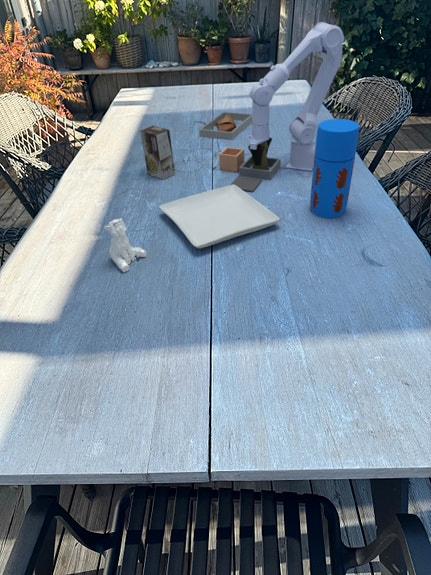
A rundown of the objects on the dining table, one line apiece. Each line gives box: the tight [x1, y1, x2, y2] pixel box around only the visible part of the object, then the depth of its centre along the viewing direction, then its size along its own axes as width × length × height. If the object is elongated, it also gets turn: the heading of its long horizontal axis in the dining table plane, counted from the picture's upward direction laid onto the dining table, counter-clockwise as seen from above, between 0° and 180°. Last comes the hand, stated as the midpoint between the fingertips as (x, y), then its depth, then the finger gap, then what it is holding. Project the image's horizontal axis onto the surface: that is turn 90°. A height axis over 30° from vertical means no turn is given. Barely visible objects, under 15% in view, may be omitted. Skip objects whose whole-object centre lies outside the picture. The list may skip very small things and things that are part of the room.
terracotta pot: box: [218, 146, 245, 173], centre depth 150 cm, size 7×7×6 cm
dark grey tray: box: [198, 111, 252, 141], centre depth 185 cm, size 16×26×3 cm, turn 155°
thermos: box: [309, 118, 360, 219], centre depth 116 cm, size 11×11×25 cm
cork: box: [251, 141, 269, 170], centre depth 145 cm, size 6×6×11 cm
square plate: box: [158, 184, 281, 249], centre depth 122 cm, size 27×27×4 cm
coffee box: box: [139, 125, 176, 180], centre depth 147 cm, size 9×6×16 cm
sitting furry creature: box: [103, 217, 147, 273], centre depth 106 cm, size 10×9×12 cm
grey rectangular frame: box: [238, 154, 282, 181], centre depth 147 cm, size 12×12×3 cm
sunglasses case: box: [216, 114, 237, 132], centre depth 185 cm, size 18×7×7 cm, turn 7°
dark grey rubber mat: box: [229, 176, 263, 193], centre depth 140 cm, size 9×9×1 cm
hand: (260, 162), depth 146 cm, fingers closed on cork, 5 cm apart
